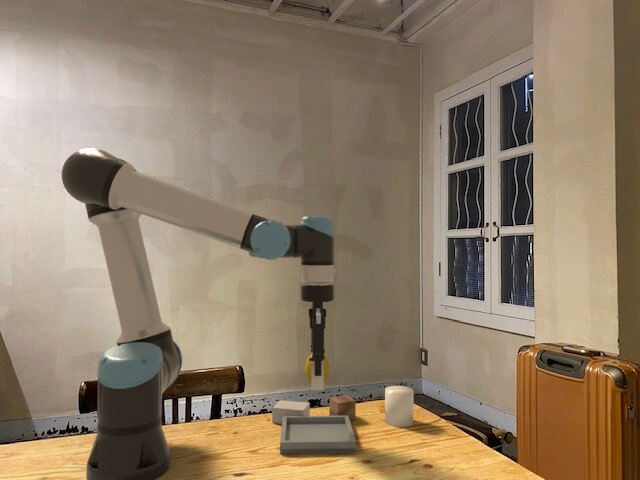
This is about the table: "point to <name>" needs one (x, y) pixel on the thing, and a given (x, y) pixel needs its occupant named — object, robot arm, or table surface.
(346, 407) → the walnut block
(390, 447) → the table surface
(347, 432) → the dish
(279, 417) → the grey box
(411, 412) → the cream rounded cylinder
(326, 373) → the lemon
